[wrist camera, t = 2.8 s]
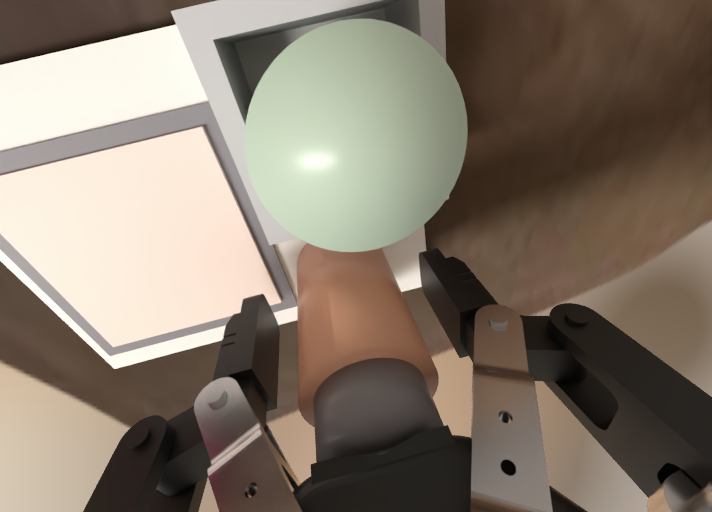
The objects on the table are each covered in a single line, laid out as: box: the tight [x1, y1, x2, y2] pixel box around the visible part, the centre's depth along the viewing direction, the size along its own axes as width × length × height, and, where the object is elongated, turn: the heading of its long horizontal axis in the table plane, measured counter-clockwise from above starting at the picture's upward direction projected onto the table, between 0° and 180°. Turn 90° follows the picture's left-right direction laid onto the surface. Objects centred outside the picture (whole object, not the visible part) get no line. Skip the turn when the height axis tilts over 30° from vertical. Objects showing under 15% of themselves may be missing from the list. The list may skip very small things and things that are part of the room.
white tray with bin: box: [0, 0, 449, 369], centre depth 11 cm, size 16×12×4 cm
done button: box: [244, 19, 468, 252], centre depth 7 cm, size 4×4×4 cm
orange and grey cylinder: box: [297, 243, 444, 463], centre depth 11 cm, size 4×4×8 cm
